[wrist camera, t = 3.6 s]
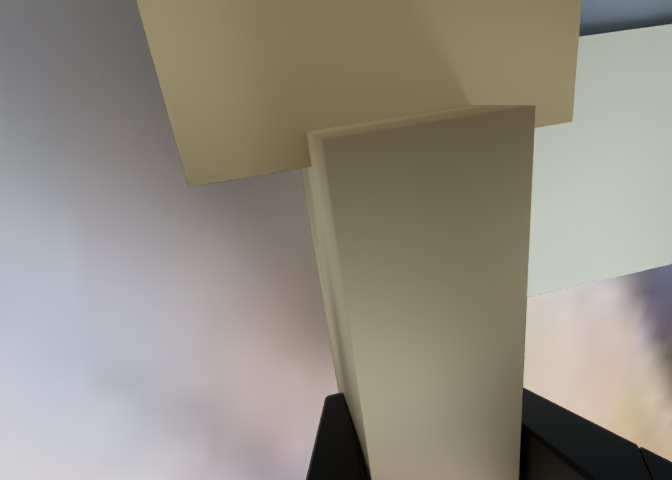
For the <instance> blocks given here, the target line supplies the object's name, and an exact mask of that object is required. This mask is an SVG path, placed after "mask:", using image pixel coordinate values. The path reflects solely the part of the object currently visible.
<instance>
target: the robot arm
mask: <svg viewBox="0 0 672 480" xmlns="http://www.w3.org/2000/svg"><path fill="white" fill-rule="evenodd" d="M306 480H366V479H365V473H364V466H363V460H362V453H361V447H360V442H359V438H358V435H357V432H356V429H355V426H354V423H353V420H352V417H351V414H350V411H349V408H348V405H347V402H346V399H345V396H344V394H343V393H342V392H341V393H337V394H333V395H329V396H327V397H326V398H325V401H324V406H323V410H322V414H321V418H320V422H319V427H318V431H317V435H316V439H315V444H314V448H313V452H312V456H311V460H310V465H309V469H308V473H307V477H306ZM519 480H672V462H671V461H669V460H667V459H665V458H663V457H661V456H659V455H657V454H655V453H653V452H651V451H649V450H647V449H645V448H643V447H640V448H638V446H637V445H636V444H634V443H632V442H631V441H629V440H627V439H625V438H623V437H621V436H619V435H617V434H615V433H613V432H611V431H609V430H607V429H605V428H603V427H601V426H599V425H597V424H595V423H593V422H591V421H589V420H587V419H585V418H583V417H581V416H579V415H577V414H575V413H573V412H571V411H569V410H567V409H565V408H563V407H561V406H559V405H557V404H555V403H553V402H551V401H549V400H547V399H545V398H543V397H541V396H539V395H537V394H535V393H533V392H531V391H529V390H527V389H525V388H523V396H522V418H521V440H520V462H519Z"/></svg>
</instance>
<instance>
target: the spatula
mask: <svg viewBox="0 0 672 480" xmlns="http://www.w3.org/2000/svg"><path fill="white" fill-rule="evenodd" d="M136 1H137V5H138V9H139V12H140V16H141V19H142V23H143V27H144V30H145V34H146V37H147V41H148V44H149V48H150V52H151V55H152V59H153V62H154V66H155V70H156V73H157V77H158V80H159V84H160V88H161V91H162V95H163V98H164V102H165V106H166V109H167V113H168V116H169V120H170V123H171V127H172V131H173V134H174V138H175V141H176V145H177V149H178V152H179V156H180V159H181V163H182V167H183V170H184V174H185V177H186V181H187V185H188V187H194V186H200V185H206V184H212V183H218V182H223V181H229V180H235V179H241V178H247V177H253V176H259V175H264V174H270V173H276V172H282V171H288V170H294V169H299V168H301V174H302V179H303V185H304V191H305V197H306V203H307V209H308V215H309V221H310V227H311V232H312V238H313V244H314V250H315V256H316V262H317V268H318V274H319V280H320V286H321V291H322V297H323V303H324V309H325V315H326V321H327V327H328V333H329V339H330V344H331V350H332V356H333V362H334V368H335V374H336V380H337V386H338V392H339V393H341V392H342V393H343V394H344V396H345V399H346V402H347V405H348V408H349V411H350V414H351V417H352V420H353V423H354V426H355V429H356V432H357V435H358V438H359V442H360V447H361V453H362V460H363V466H364V473H365V479H366V480H519V462H520V440H521V418H522V396H523V374H524V352H525V329H526V307H527V285H528V263H529V241H530V219H531V197H532V175H533V153H534V131H535V128H539V127H545V126H550V125H556V124H562V123H568V122H572V119H573V107H574V94H575V81H576V68H577V56H578V43H579V30H580V17H581V5H582V0H136Z"/></svg>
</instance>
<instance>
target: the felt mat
mask: <svg viewBox="0 0 672 480" xmlns="http://www.w3.org/2000/svg"><path fill="white" fill-rule="evenodd" d="M669 264H672V24H667V25H660V26H653V27H645V28H638V29H631V30H624V31H616V32H609V33H602V34H595V35H587V36H580V37H579V43H578V56H577V68H576V81H575V94H574V107H573V119H572V122H568V123H562V124H556V125H550V126H545V127H539V128H535V131H534V153H533V175H532V197H531V219H530V241H529V263H528V285H527V298H529V297H533V296H537V295H542V294H546V293H550V292H554V291H559V290H563V289H567V288H571V287H576V286H580V285H584V284H588V283H593V282H597V281H601V280H605V279H610V278H614V277H618V276H622V275H627V274H631V273H635V272H640V271H644V270H648V269H652V268H657V267H661V266H665V265H669Z"/></svg>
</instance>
